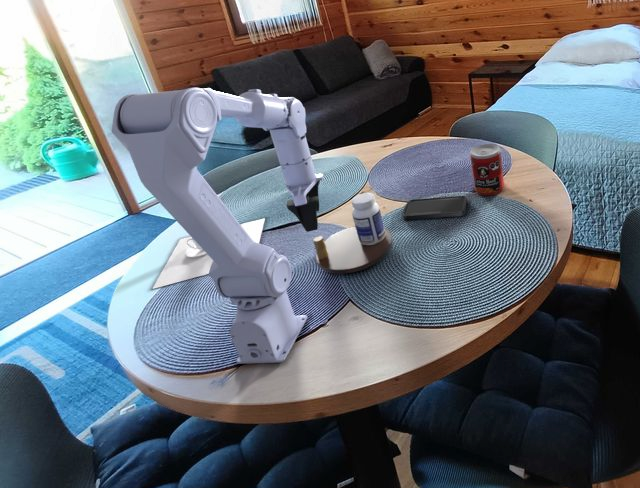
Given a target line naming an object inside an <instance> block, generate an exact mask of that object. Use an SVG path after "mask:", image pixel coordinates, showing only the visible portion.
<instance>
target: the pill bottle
mask: <svg viewBox="0 0 640 488" xmlns="http://www.w3.org/2000/svg"><path fill="white" fill-rule="evenodd" d="M351 205H352V208H353V209H352V212H351V214H352V219H353V222H354V226H355V227H356V231H357V234H358V238H359V241H360V243H361V244H363V245H374V244H377V243H379V242H381V241H382V240H383V239H384V237H385V229H384V228H385V226H384V225H385V224H384V222H383V218H382V217H383V216H382V213H381V208H380V206H379V204H378V203H377V202H376V198H375V195H374V194H373V193H372V192H363V193H359V194H358V195H355V196H354V197H353V198H352V199H351Z"/></svg>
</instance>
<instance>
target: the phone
mask: <svg viewBox="0 0 640 488" xmlns="http://www.w3.org/2000/svg"><path fill="white" fill-rule="evenodd" d="M467 199H468V198H467V196H465V195H457V196H455V195H454V196H444V197H442V196H441V197H427V198H415V199H414V198H413V199H409V200H407V202H406V204H405V206H404V209H403V212H402V218H403V220H405V221H411V220H426V219H439V218H440V219H441V218H452V217H453V218H455V217H463V216H465V215H466V211H467V203H468V201H467Z"/></svg>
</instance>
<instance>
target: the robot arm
mask: <svg viewBox="0 0 640 488" xmlns="http://www.w3.org/2000/svg"><path fill="white" fill-rule="evenodd" d="M113 111H114V112H113V117H112V126H111V133H112V134H113V136H114V137H115V138H116V139H117V140H118V141H119V142H120V143H121V144H122V146H123V147H124V148H125V149H126V150H127V152H128V153H129V155H130V158H131V160H132V162H133V165H134V168H135V170H136V173H137V175H138V178H139V180H140V182H141V183H142V185H143V186H144V188H145V189H146V190H147V191H148V192H149V193H150V194H151V195H152V196H153V197H154V198H155V200H156V201H157V202H158V203H159V204H160V205H161V206H162V208H164V209H165V210H166V211H167V213H168V214H170V216H171V217H172V218H173V219H174V220H175V221H176V222H177V223H178V224H179V226H181V228H182V229H183V230H184V231H186V233H187V234H188V235H189V237H192V238H193V239H194V240H195V241H196V242H197V243H198V245H199V246H200V247H201V248H202V249H203V250H204V251H205V252H206V253H207V254H208V255H209V256H210V257H211V259H212V260H213V262H212V264H211V267H210V270H209V274H208V276H209V277H210V278H211V279H212V280H213V283H214V286H215V289H216V292H217V294H219V296H220V297H222V298H225V299H228V298H229V301H230V303H231V305H235V306H236V314H235V317H234V320H233V322H232V324H231V326H230V329H229V336H230V338H231V341H232V343H233V345H234V348H235V350H236V352H237V355H238V357H237V358H236V360H235V362H236V364H238V365H240V364H241V365H242V364H270V363H271V364H273V363H274V364H275V363H283V362H284V361H286V359H287V356H289V353H290V351H291V350H292V348H293V346H294V344H295V342H296V340H297V338H298V337H299V335H300V333H301V332H302V329H303V328H304V326H305V324H306V322H307V320H308V315H305V314H303V315H295V313H294V309H293V306H292V304H291V301H290V298H289V294H288V291H287V290H288V288H289V286H290V284H291V281H292V275H293V273H292V270H293V269H292V265H291V262H290V261H289V259H288V258H287V256H285V255H283V254H280V253H278V252H277V251H276V250H275V249H274V248H273V247H270V246H268V245H266V244H262V243H260V242H259V243H257V242H254V241H253V240H252V239H251V238H250V236H249V235H248V234H247V233H246V231H245V230H244V229H243V228H242V226H241V225H240V224H241V223H240V222H239V221H238V220H237V218H236V217H235V216H234V215H233V213H232V212H231V211H230V209H228V207H227V206H226V204H225V203H224V201H223V200H222V199H221V198H220V196H219V195H218V194H217V193H216V192H215V191H214V188H212V187H211V186H210V184H209V183H208V181H207V180H206V179H205V178H204V177H203V175H202V174H201V173H200V171H199V170H198V168H197V167H198V166H199V165H200V164H201V163H203V162H204V161H205V160H206V158H207V154H208V151H209V148H210V146H211V142H212V139H213V136H214V134H215V131H216V127H217V123H218V122H221V121H222V118H223V119H225V118H227V119H228V118H229V119H235V120H236V121H237V123H239V125H241V126H243V127H246V128H257V129H263V131H265V132H268V131H269V133H270V137H271V140H272V143H273V147H274V149H275V153H276V157H277V160H278V162H279V163H278V164H279V166H280V170H281V173H282V176H283V179H284V182H285V183H284V187H285V189H286V190H287V191H288V192H289V193H290V195H291V196H292V199H290V200H287V201H286V208H287V210H289V211H290V212H291V213H292V214H293V215H294V216H296V218H297V219H298V221H299V223H300V225H302V227H303V229H304V230H305V232H306V233H309V232H313V231H316V230H318V228H319V227H318V226H319V224H318V222H319V221H318V213H317V212H319V211H320V197H319V185H320V181H323V180H324V174H323V173H316V169H315V165H314V161H313V160H312V155H311V152H310V147H309V144H308V139H307V137H306V134H307V124H306V117H307V115H306V113H307V112H306V108H305V107H304V106H303V103H302V102H301V100H299V99H297V98H296V97H294V96H290V97H289V96H288V97H287V96H286V97H280V96H278V94H277V93H268V94H265V93H262V89H258V88H253V89H248V90H247V91H246V92H242V93H240V94H239V96H237V95H233V94H230V93H224V92H221V91H216V90H213V89H212V88H210V87H207V88H200V87H189V88H184V89H179V90H168V91H157V92H149V93H148V92H147V93H138V92H136V93H135V92H134V93H129V94H126V95H124V96H122V97H121V98H120V99H119V100H118V102H117V103H116V104H115V107H114V110H113Z"/></svg>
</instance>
